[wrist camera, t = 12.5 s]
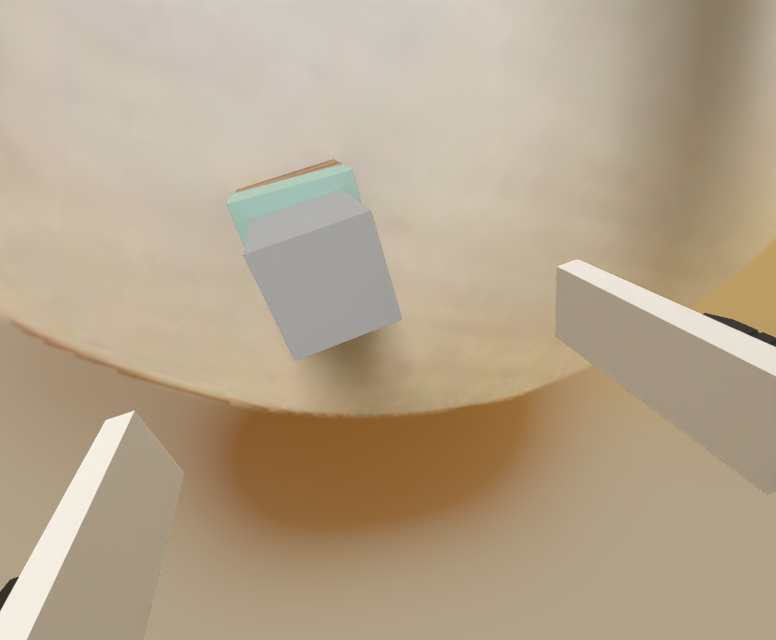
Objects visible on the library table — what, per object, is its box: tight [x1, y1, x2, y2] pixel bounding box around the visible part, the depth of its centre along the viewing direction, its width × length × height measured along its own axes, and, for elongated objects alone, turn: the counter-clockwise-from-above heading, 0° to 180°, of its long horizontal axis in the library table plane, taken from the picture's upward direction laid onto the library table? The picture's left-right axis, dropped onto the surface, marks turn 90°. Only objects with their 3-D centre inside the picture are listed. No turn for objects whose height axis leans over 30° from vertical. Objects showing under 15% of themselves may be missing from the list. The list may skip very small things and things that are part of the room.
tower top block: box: [227, 164, 361, 246], centre depth 27 cm, size 8×8×4 cm
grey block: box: [243, 189, 402, 361], centre depth 22 cm, size 6×6×8 cm
